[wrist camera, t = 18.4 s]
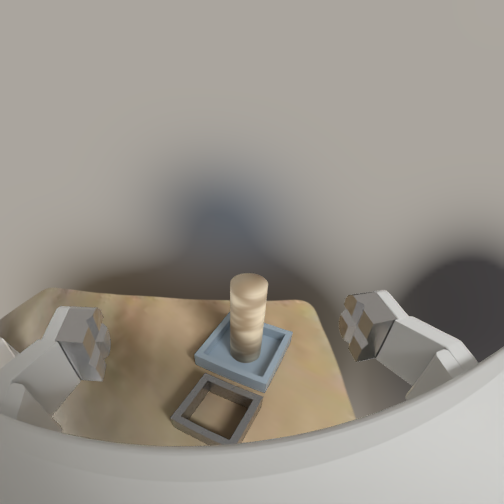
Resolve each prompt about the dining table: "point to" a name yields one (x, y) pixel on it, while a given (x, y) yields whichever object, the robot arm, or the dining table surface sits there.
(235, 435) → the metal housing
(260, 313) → the peg
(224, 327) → the tray
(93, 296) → the dining table surface
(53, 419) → the robot arm
